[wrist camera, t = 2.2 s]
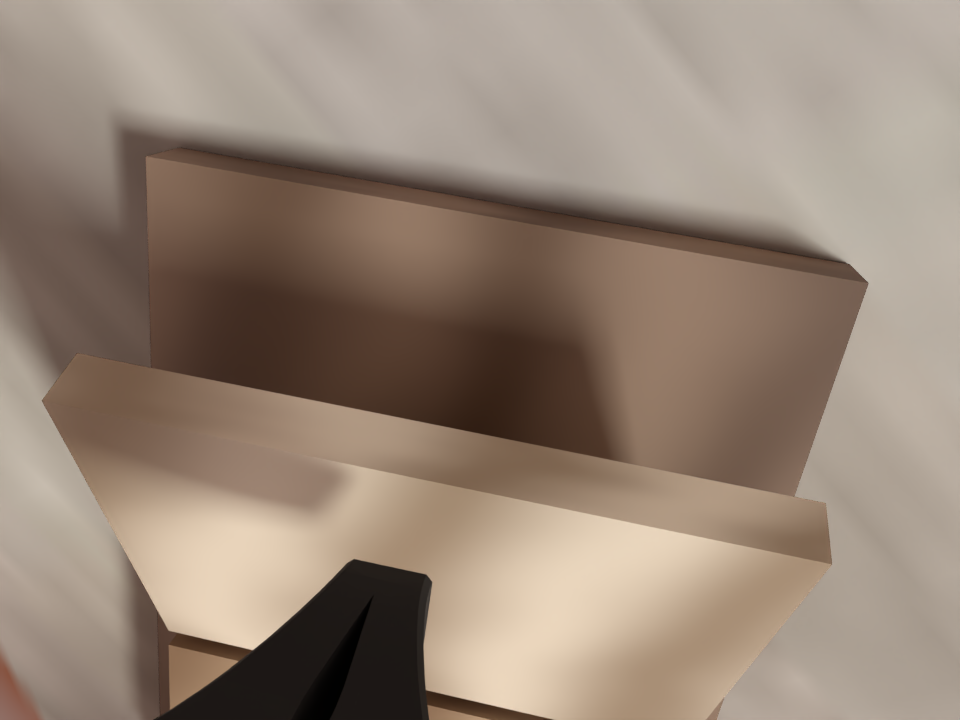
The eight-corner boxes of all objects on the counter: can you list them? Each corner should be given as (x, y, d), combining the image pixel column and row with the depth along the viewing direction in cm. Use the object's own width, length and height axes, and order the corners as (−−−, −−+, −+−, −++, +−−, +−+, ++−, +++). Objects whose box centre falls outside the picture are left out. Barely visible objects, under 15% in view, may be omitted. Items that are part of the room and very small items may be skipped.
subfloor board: (849, 264, 18) (886, 300, 16) (651, 854, 26) (655, 940, 24) (179, 147, 20) (114, 164, 17) (184, 740, 27) (141, 810, 25)
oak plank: (825, 503, 14) (831, 564, 13) (683, 702, 21) (681, 749, 21) (77, 352, 15) (42, 400, 14) (187, 590, 23) (168, 630, 22)
